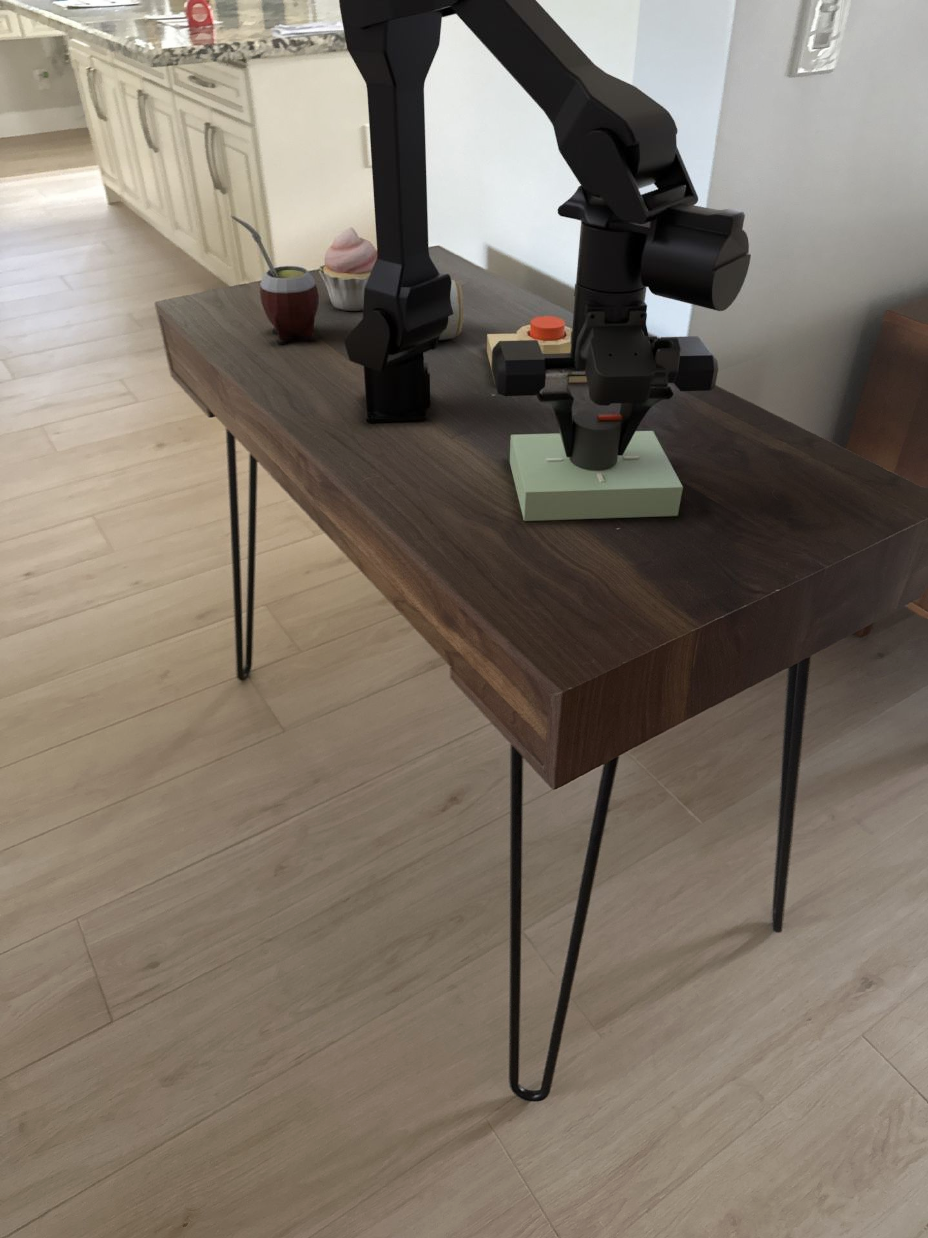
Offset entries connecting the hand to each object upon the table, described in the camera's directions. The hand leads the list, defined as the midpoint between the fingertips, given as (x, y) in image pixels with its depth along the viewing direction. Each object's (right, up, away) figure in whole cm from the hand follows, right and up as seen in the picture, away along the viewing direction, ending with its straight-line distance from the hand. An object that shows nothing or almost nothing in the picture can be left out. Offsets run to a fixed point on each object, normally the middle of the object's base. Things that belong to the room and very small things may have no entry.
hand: (593, 454), depth 83 cm
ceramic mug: (-17, +21, +33) cm, 42 cm away
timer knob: (0, 0, 0) cm, 0 cm away
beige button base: (-2, +15, +25) cm, 29 cm away
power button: (-2, +18, +23) cm, 29 cm away
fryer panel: (0, -3, +2) cm, 4 cm away
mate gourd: (-34, +20, +32) cm, 51 cm away
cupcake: (-27, +28, +41) cm, 57 cm away
